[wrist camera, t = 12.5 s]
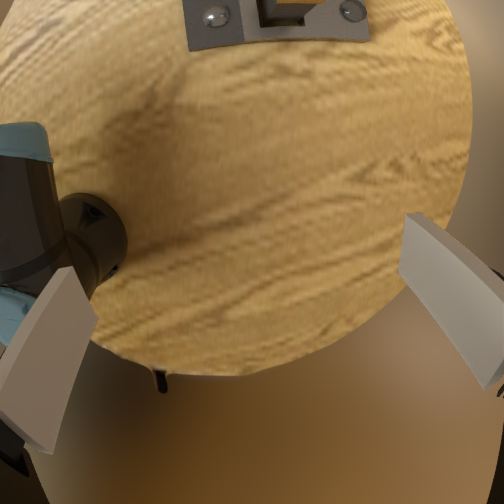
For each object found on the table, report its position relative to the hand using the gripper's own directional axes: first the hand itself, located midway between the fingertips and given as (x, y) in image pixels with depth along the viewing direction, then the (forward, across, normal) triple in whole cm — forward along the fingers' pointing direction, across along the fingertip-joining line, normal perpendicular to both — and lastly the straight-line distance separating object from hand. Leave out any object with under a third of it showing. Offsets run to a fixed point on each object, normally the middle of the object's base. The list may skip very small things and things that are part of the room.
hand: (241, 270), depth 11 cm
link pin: (+32, +9, +18) cm, 38 cm away
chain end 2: (+32, +13, +18) cm, 39 cm away
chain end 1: (+32, +5, +18) cm, 37 cm away
